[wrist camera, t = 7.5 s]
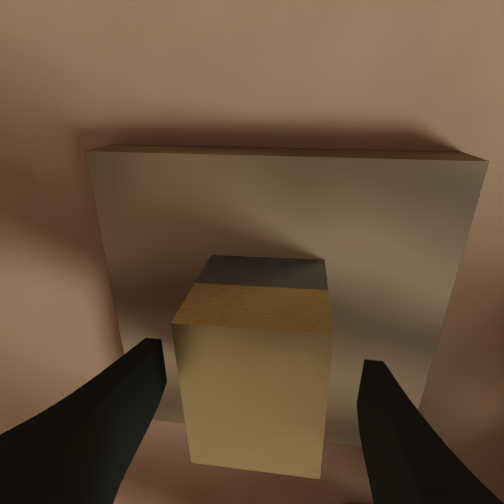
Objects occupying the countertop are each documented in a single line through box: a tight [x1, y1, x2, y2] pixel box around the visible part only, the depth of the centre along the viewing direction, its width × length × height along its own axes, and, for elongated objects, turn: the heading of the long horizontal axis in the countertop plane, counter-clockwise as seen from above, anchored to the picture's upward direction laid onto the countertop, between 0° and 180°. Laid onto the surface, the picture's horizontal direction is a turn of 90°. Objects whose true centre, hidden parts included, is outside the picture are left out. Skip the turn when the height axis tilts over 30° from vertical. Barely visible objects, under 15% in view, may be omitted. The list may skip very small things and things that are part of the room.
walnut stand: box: [85, 145, 489, 447], centre depth 16 cm, size 14×14×2 cm
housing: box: [171, 255, 333, 479], centre depth 13 cm, size 4×6×5 cm
